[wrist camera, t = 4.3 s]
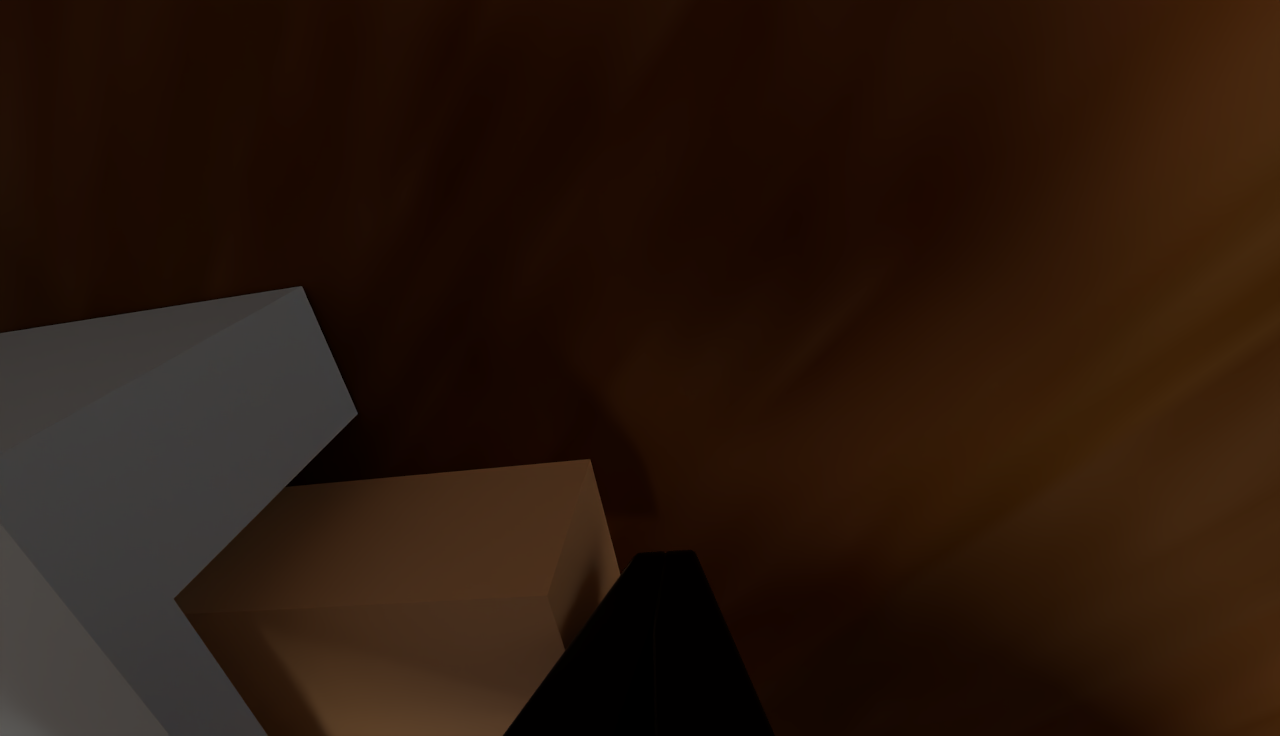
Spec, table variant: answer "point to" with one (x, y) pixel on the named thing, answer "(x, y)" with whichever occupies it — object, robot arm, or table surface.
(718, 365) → the table surface
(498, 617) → the tan rectangular brick
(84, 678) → the sled
